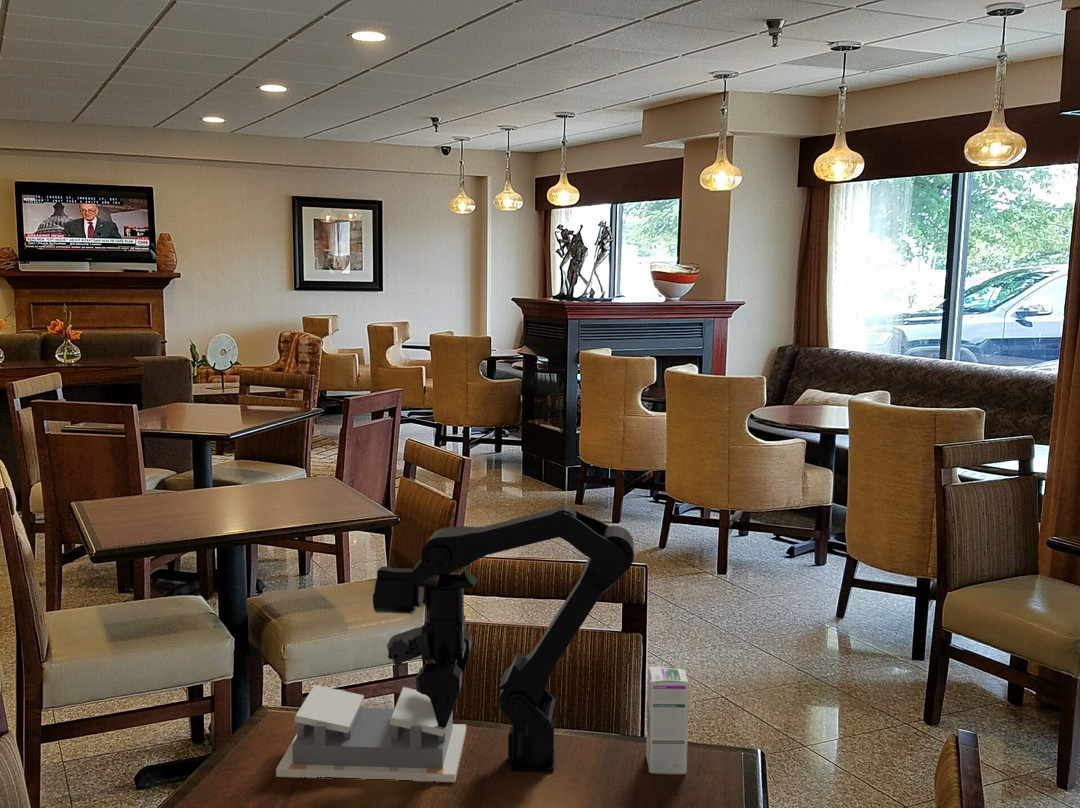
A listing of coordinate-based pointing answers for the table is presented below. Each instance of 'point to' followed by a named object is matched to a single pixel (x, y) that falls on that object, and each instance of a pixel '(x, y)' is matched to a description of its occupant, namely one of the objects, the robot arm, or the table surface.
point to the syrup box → (667, 720)
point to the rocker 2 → (415, 712)
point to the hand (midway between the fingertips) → (446, 713)
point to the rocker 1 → (330, 708)
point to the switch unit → (374, 750)
